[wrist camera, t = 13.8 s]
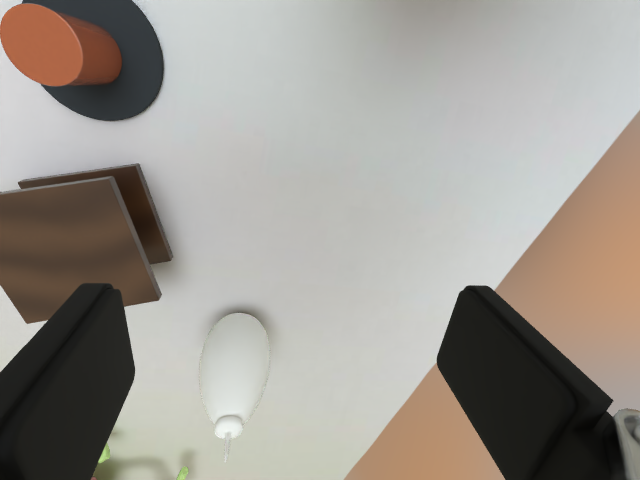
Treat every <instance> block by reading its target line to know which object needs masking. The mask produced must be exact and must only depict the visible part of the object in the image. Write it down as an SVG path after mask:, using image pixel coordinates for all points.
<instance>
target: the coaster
mask: <svg viewBox="0 0 640 480" xmlns="http://www.w3.org/2000/svg"><path fill="white" fill-rule="evenodd" d="M26 3H30V4H37V5H41V6H44V7H47V8H50V9H53V10H56V11H59V12H62V13H65V14H68V15H71V16H73V17H76V18H79V19H82V20H85V21H88V22H91V23H94V24H96V25H98V26H100V27H102V28H103V29H104V30H106V31H107V32H108V33H109V34H110V35H111V36H112V37H113V39H114V40H115V42H116V43H117V45H118V47H119V50H120V53H121V57H122V67H121V71H120V73H119V75H118V77H117V78H116V79H115V80H114V81H112V82H111V83H108V84H105V85H87V86H48V85H44V84H41V83H40V84H41V85H42V86H43V87H44V89H45V90H46V91H47V92H48V93H49V94H50V95H52V96H53V97H54V98H55V99H56V100H57V101H59V102H60V103H61V104H63V105H64V106H66V107H68V108H69V109H71V110H73V111H75V112H77V113H79V114H81V115H84V116H86V117H90V118H93V119H98V120H105V121H115V120H122V119H126V118H130V117H133V116H135V115H137V114H139V113H141V112H142V111H144V110H145V109H146V108H147V107H148V106H150V104H151V103H152V102H153V101H154V99H155V98H156V96H157V94H158V92H159V90H160V87H161V83H162V79H163V70H164V69H163V56H162V51H161V47H160V44H159V41H158V38H157V36H156V33H155V31H154V29H153V28H152V26H151V24H150V22H149V21H148V19H147V18H146V16H145V15H144V14H143V12H142V11H141V10H140V9H139V7H138V6H137V5H136V4H135V3H134V2H133V1H132V0H23V2H22V4H26Z"/></svg>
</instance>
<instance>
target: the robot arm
mask: <svg viewBox="0 0 640 480" xmlns="http://www.w3.org/2000/svg"><path fill="white" fill-rule="evenodd" d="M437 365H438V368H439V370H440V372H441V373H442V375H443V377H444V379H445V380H446V382H447V383H448V385H449V387H450V388H451V390H452V392H453V393H454V395H455V397H456V398H457V400H458V402H459V403H460V405H461V407H462V408H463V410H464V412H465V413H466V415H467V417H468V418H469V420H470V422H471V423H472V425H473V427H474V428H475V430H476V431H477V433H478V435H479V436H480V438H481V440H482V441H483V443H484V445H485V446H486V448H487V450H488V451H489V453H490V455H491V456H492V458H493V460H494V461H495V463H496V465H497V466H498V468H499V470H500V471H501V473H502V475H503V476H504V478H505V480H640V411H638V410H633V409H622V410H619V411H618V412H617V413H616V414H615V415H614V417H612V416H611V415H610V414H609V413H608V412H607V409H608V407H609V406H610V405H611V403H612V401H613V400H612V399H611V398H610V397H609V396H608V395H607V394H606V393H605V392H603V391H602V390H601V389H600V388H599V387H598V386H597V385H596V384H595V383H594V382H593V381H592V380H590V379H589V378H588V377H587V376H586V375H585V374H584V373H583V372H582V371H581V370H580V369H579V368H577V367H576V366H575V365H574V364H573V363H572V362H571V361H570V360H569V359H568V358H566V357H565V356H564V355H563V354H562V353H561V352H560V351H559V350H558V349H557V348H556V347H555V346H553V345H552V344H551V343H550V342H549V341H548V340H547V339H546V338H545V337H544V336H543V335H541V334H540V333H539V332H538V331H537V330H536V329H535V328H534V327H533V326H532V325H530V324H529V323H528V322H527V321H526V320H525V319H524V318H523V317H522V316H521V315H520V314H519V313H517V312H516V311H515V310H514V309H513V308H512V307H511V306H510V305H509V304H508V303H507V302H506V301H504V300H503V299H502V298H501V297H500V296H499V295H498V294H497V293H496V292H495V291H494V290H492V289H491V288H490V287H488V286H466V287H465V288H464V290H463V291H461V292H460V293H459V295H458V298H457V301H456V304H455V307H454V310H453V312H452V315H451V318H450V321H449V324H448V327H447V330H446V333H445V335H444V338H443V341H442V344H441V347H440V350H439V353H438V356H437ZM134 376H135V366H134V360H133V355H132V349H131V344H130V338H129V333H128V327H127V322H126V316H125V311H124V305H123V300H122V294H121V291H120V290H119V289H114V288H113V286H112V284H110V283H83V284H81V285H80V286H79V287H78V288H77V289H76V290H75V291H74V292H73V293H72V295H71V296H70V297H69V298H68V299H67V300H66V301H65V302H64V303H63V305H62V306H61V307H60V308H59V309H58V310H57V311H56V312H55V313H54V315H53V316H52V317H51V318H50V319H49V320H48V321H47V322H46V323H45V324H44V326H43V327H42V328H41V329H40V330H39V331H38V332H37V333H36V334H35V336H34V337H33V338H32V339H31V340H30V341H29V342H28V343H27V344H26V345H25V346H24V347H23V348H22V349H21V350H20V351H19V352H18V354H17V355H16V356H15V357H14V358H13V359H12V360H11V361H10V362H9V363H8V365H7V366H6V367H5V368H4V369H3V370H2V371H1V372H0V480H91V477H92V475H93V473H94V471H95V468H96V466H97V464H98V461H99V459H100V457H101V455H102V452H103V450H104V448H105V445H106V443H107V441H108V438H109V436H110V434H111V432H112V429H113V427H114V425H115V422H116V420H117V418H118V416H119V413H120V411H121V409H122V406H123V404H124V402H125V400H126V397H127V395H128V393H129V390H130V388H131V386H132V383H133V380H134Z"/></svg>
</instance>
